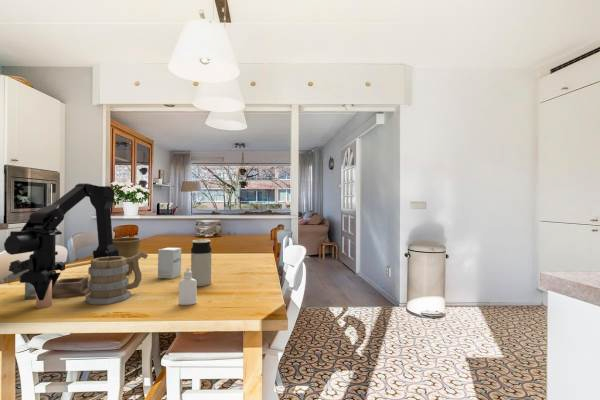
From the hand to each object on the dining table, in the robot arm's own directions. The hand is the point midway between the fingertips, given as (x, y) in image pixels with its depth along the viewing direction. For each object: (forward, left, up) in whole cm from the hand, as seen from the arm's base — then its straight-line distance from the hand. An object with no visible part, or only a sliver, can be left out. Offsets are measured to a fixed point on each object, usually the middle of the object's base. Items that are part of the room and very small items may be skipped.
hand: (44, 298), depth 108 cm
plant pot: (-15, -45, -3) cm, 48 cm away
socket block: (0, -15, -3) cm, 15 cm away
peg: (0, 0, -2) cm, 2 cm away
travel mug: (-49, -15, -3) cm, 51 cm away
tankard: (-21, -5, -3) cm, 22 cm away
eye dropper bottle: (-44, +10, -3) cm, 45 cm away
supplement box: (-36, -33, -3) cm, 49 cm away
